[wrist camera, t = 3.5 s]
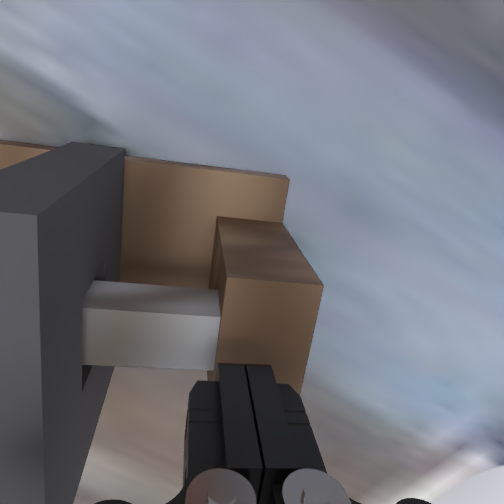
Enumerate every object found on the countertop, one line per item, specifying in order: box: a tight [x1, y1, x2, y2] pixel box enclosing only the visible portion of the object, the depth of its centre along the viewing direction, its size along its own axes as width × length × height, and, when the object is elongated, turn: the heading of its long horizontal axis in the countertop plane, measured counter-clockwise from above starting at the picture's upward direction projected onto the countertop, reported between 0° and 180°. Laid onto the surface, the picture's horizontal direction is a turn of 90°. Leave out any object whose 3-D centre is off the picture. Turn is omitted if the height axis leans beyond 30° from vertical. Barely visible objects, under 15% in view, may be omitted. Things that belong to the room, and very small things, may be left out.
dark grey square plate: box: [0, 142, 125, 504], centre depth 14 cm, size 2×10×10 cm, turn 172°
